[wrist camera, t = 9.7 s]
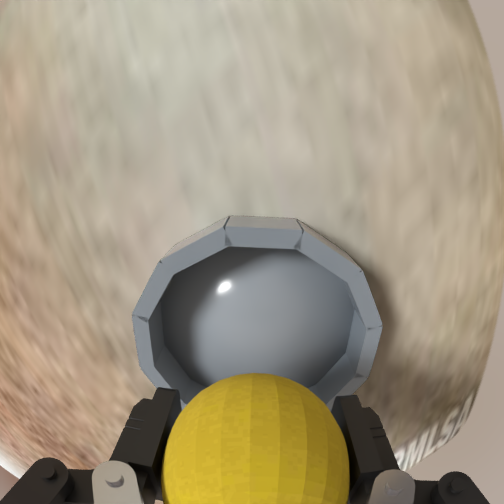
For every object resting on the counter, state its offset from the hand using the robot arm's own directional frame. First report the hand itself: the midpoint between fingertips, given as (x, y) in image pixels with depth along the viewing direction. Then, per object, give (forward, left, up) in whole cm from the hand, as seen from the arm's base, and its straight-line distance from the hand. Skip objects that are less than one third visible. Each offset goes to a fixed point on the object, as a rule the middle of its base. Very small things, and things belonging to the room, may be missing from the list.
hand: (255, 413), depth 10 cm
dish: (0, 0, -6) cm, 6 cm away
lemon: (0, 0, -2) cm, 2 cm away
